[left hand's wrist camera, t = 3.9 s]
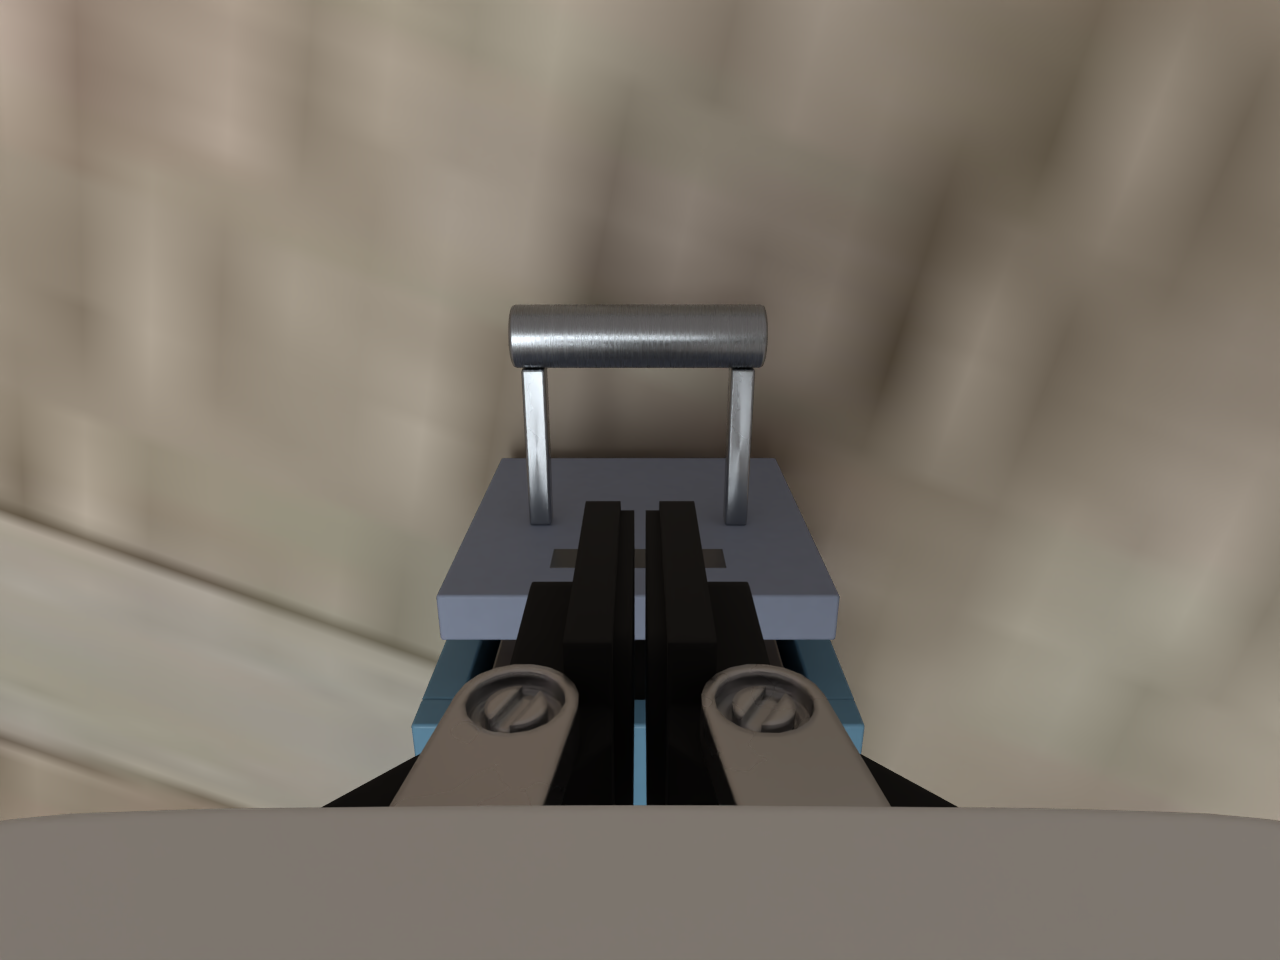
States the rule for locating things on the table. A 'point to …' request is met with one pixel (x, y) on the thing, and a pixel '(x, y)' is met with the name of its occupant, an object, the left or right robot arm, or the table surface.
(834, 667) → the blue storage bin
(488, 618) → the drawer
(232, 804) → the table surface
